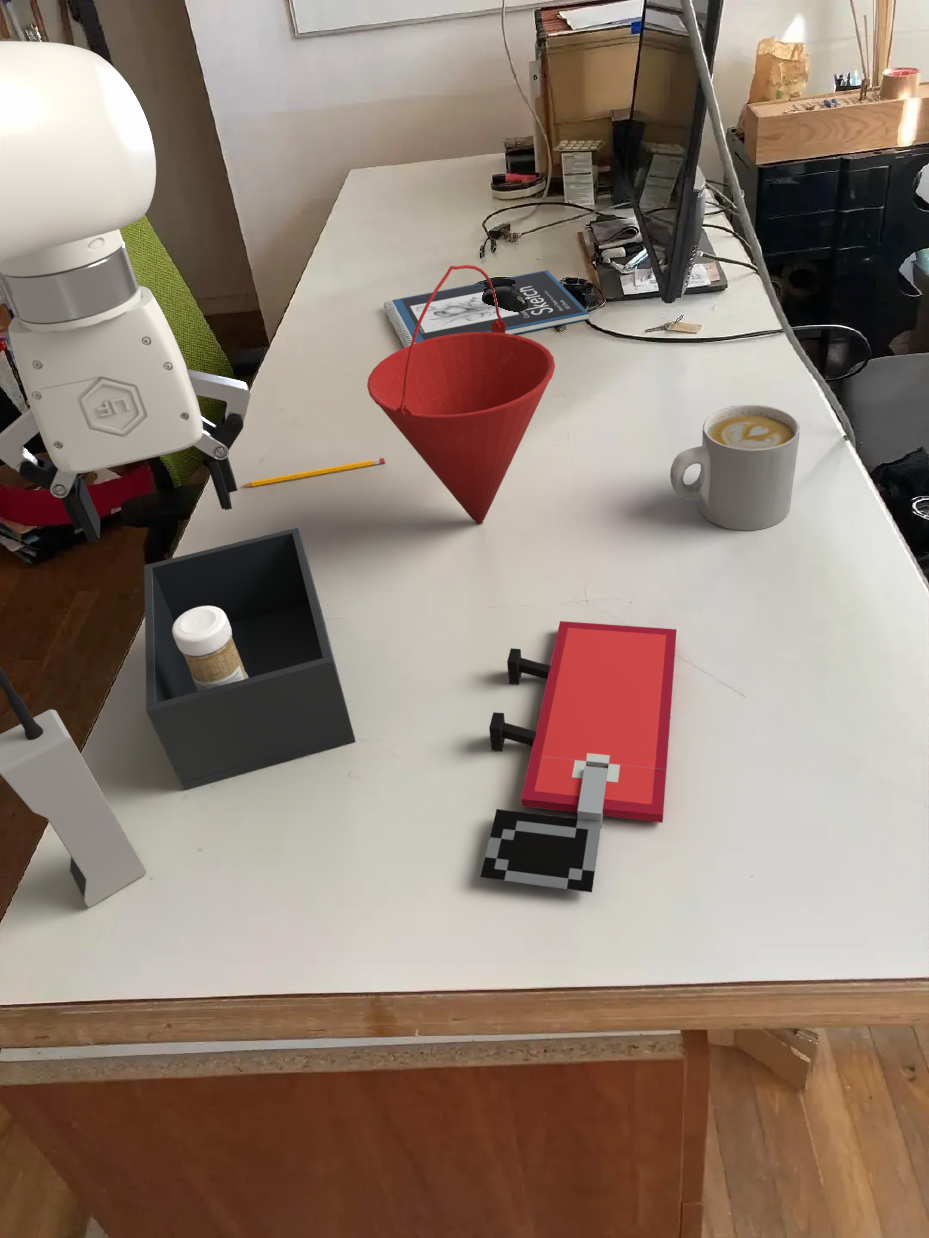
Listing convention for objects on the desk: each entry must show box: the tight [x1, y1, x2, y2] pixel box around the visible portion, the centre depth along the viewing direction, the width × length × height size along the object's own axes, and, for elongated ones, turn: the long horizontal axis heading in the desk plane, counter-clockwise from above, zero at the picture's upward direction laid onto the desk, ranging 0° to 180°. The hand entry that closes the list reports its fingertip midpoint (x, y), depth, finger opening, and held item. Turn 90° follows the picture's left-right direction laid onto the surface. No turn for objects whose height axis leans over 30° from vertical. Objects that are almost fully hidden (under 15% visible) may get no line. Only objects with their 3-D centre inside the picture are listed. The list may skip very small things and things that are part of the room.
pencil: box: [239, 457, 386, 488], centre depth 121 cm, size 1×19×1 cm, turn 99°
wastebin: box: [143, 526, 356, 791], centre depth 88 cm, size 22×16×10 cm
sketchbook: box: [383, 269, 590, 348], centre depth 155 cm, size 22×30×2 cm
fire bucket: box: [366, 264, 556, 525], centre depth 99 cm, size 22×20×30 cm
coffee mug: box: [669, 404, 801, 531], centre depth 102 cm, size 13×10×10 cm
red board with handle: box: [479, 620, 677, 893], centre depth 80 cm, size 30×3×15 cm
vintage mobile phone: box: [0, 665, 148, 908], centre depth 68 cm, size 4×5×25 cm
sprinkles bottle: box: [172, 606, 248, 692], centre depth 81 cm, size 5×5×13 cm
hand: (161, 516), depth 68 cm, fingers open, 9 cm apart
